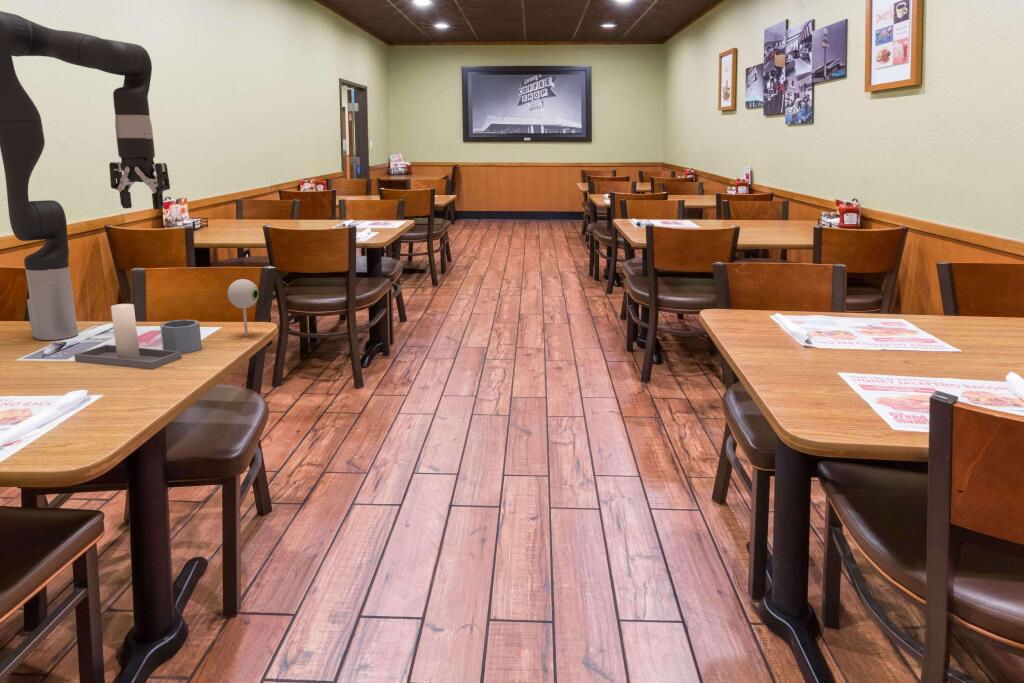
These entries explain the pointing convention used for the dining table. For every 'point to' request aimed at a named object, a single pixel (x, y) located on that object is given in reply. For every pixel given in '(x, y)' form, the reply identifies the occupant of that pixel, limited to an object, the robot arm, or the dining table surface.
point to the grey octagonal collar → (181, 336)
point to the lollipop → (243, 296)
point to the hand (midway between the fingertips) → (142, 208)
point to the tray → (146, 361)
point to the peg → (125, 331)
